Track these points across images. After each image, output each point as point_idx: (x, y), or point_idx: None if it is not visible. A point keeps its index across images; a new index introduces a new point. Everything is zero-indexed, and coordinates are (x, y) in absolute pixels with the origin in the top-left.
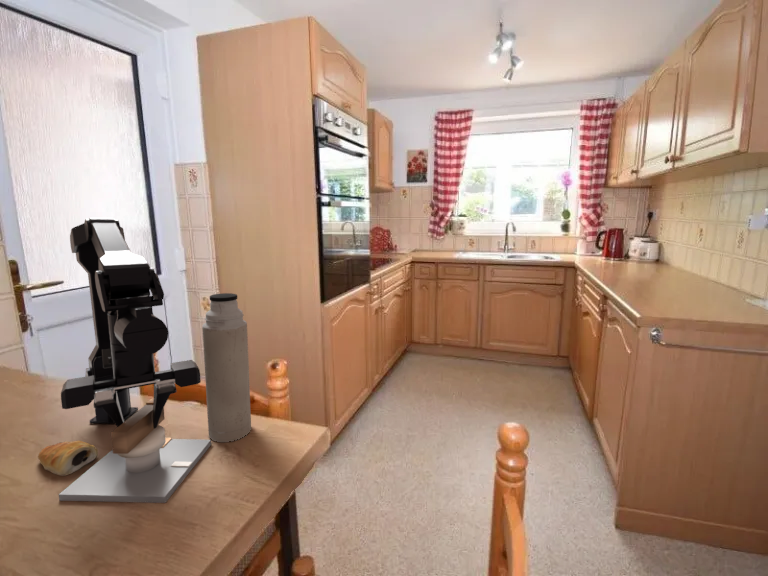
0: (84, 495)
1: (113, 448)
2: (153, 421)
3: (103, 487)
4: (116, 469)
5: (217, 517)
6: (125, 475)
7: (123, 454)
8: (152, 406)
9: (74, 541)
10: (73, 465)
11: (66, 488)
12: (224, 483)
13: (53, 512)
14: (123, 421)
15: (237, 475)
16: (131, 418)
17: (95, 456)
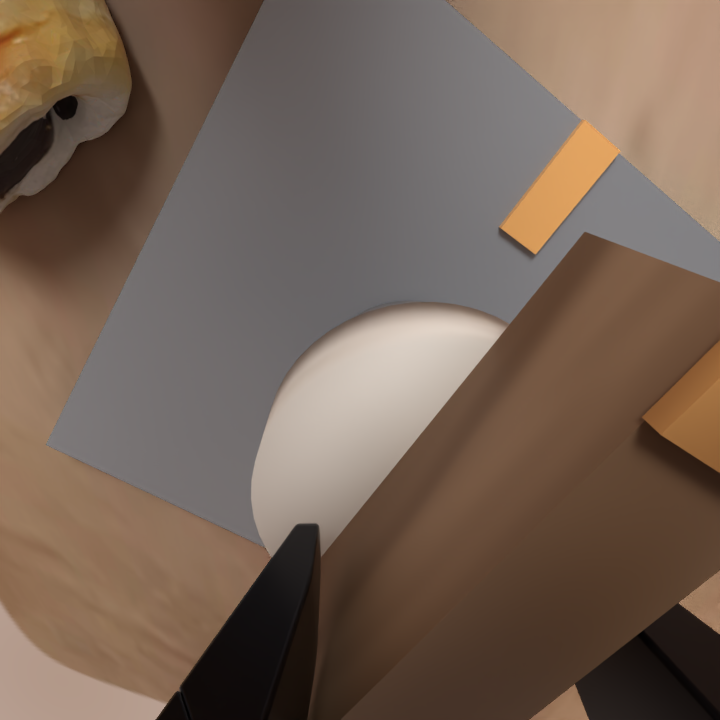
0: (162, 496)
1: None
2: None
3: (230, 485)
4: (273, 364)
5: (553, 713)
6: None
7: None
8: (685, 538)
9: (186, 643)
10: (14, 188)
11: (64, 416)
12: None
13: (70, 490)
14: (302, 684)
15: (706, 586)
16: (384, 715)
17: (125, 103)
